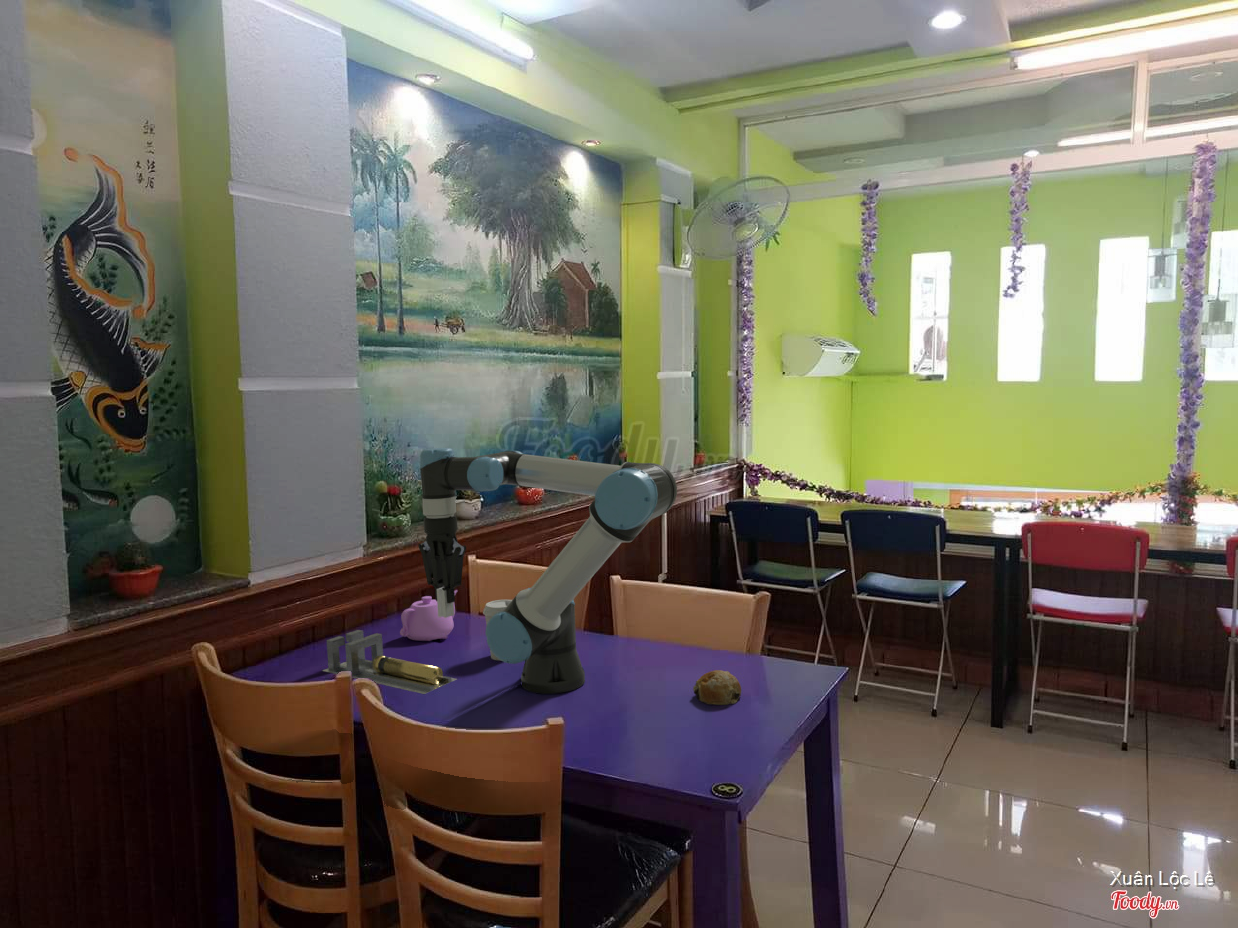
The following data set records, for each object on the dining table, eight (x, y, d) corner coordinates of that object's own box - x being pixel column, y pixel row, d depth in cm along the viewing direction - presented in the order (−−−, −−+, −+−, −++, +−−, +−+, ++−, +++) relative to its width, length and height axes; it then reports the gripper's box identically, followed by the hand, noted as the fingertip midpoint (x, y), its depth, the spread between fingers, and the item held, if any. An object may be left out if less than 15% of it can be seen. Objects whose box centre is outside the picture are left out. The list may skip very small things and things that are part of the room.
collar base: (457, 682, 208) (455, 646, 207) (424, 698, 198) (422, 660, 198) (356, 661, 227) (354, 628, 226) (322, 674, 218) (319, 639, 217)
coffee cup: (515, 666, 218) (512, 608, 217) (480, 665, 220) (477, 608, 218) (527, 654, 227) (524, 598, 226) (493, 653, 229) (490, 598, 228)
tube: (440, 684, 206) (444, 667, 207) (429, 683, 202) (432, 666, 203) (382, 672, 216) (386, 656, 217) (370, 670, 213) (374, 654, 214)
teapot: (445, 625, 258) (443, 585, 257) (475, 633, 249) (472, 592, 247) (387, 642, 243) (384, 600, 242) (416, 651, 234) (413, 607, 233)
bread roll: (721, 724, 186) (735, 694, 184) (682, 697, 191) (695, 668, 188) (740, 708, 194) (753, 679, 192) (702, 683, 199) (715, 654, 196)
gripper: (474, 514, 197) (479, 615, 199) (429, 511, 204) (435, 608, 207) (451, 519, 190) (457, 623, 193) (406, 516, 198) (412, 616, 200)
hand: (446, 615), depth 200 cm, fingers closed
